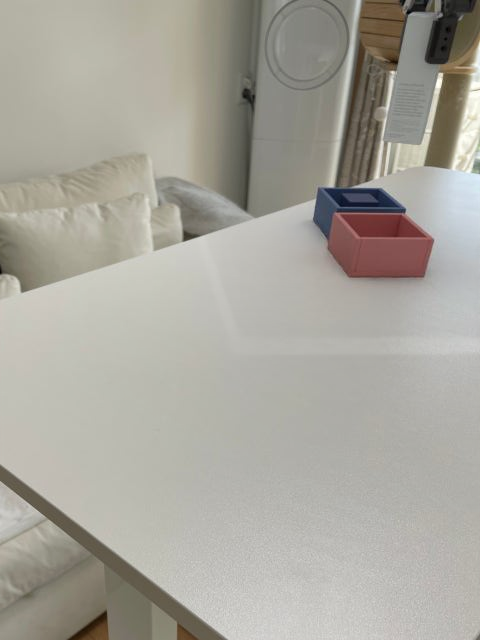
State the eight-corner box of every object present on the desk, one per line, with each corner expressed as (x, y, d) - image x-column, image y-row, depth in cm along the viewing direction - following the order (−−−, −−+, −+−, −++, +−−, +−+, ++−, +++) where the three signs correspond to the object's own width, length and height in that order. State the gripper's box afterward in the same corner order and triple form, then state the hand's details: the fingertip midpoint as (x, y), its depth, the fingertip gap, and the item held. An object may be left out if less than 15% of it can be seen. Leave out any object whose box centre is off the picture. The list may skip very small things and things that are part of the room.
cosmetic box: (386, 132, 76) (411, 11, 69) (424, 135, 75) (454, 13, 68) (380, 142, 72) (407, 13, 65) (421, 146, 70) (452, 15, 63)
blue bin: (374, 220, 95) (381, 187, 92) (398, 243, 87) (406, 208, 84) (312, 219, 94) (318, 187, 92) (330, 243, 86) (337, 208, 84)
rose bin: (395, 248, 85) (404, 213, 83) (424, 277, 77) (434, 239, 75) (327, 247, 85) (333, 212, 82) (348, 276, 77) (356, 238, 74)
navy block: (363, 222, 92) (369, 193, 90) (372, 231, 89) (379, 202, 86) (336, 222, 92) (341, 193, 89) (344, 231, 88) (350, 201, 86)
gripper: (550, -158, 54) (486, 69, 63) (472, -136, 65) (428, 53, 75) (462, -162, 53) (411, 67, 63) (399, -139, 65) (364, 51, 74)
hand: (420, 59), depth 69 cm, fingers closed on cosmetic box, 7 cm apart
